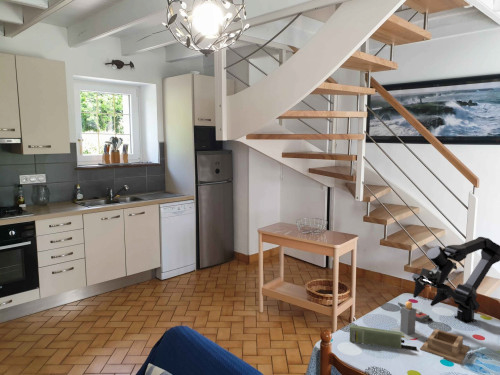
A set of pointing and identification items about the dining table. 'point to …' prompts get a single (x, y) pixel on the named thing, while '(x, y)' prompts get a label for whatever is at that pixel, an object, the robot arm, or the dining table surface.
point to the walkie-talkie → (419, 315)
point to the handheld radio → (378, 337)
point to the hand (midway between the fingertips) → (422, 301)
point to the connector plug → (408, 319)
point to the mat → (408, 337)
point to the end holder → (446, 346)
